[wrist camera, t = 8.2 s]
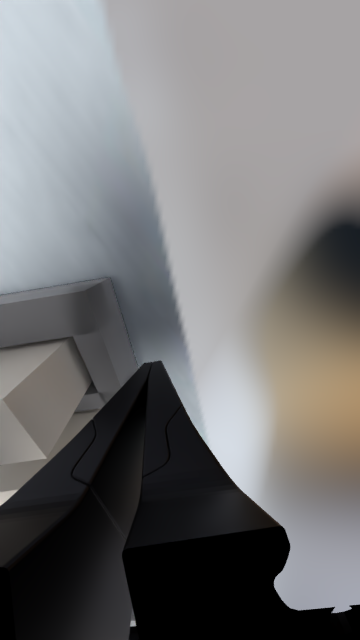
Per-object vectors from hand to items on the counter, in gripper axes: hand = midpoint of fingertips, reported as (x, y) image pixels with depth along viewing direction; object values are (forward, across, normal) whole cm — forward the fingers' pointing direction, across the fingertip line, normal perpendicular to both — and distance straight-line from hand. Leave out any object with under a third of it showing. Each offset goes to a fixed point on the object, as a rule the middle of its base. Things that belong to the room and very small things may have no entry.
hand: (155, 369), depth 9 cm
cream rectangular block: (+3, +6, 0) cm, 7 cm away
